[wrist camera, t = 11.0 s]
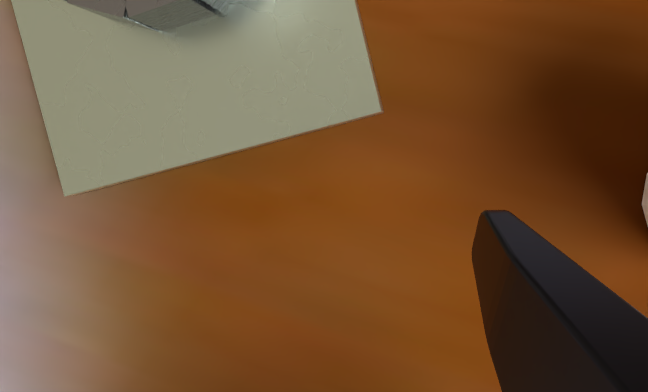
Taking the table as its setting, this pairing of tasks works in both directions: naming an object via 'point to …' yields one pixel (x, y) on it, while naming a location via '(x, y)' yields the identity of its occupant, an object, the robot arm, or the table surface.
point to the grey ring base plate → (188, 79)
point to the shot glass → (645, 199)
